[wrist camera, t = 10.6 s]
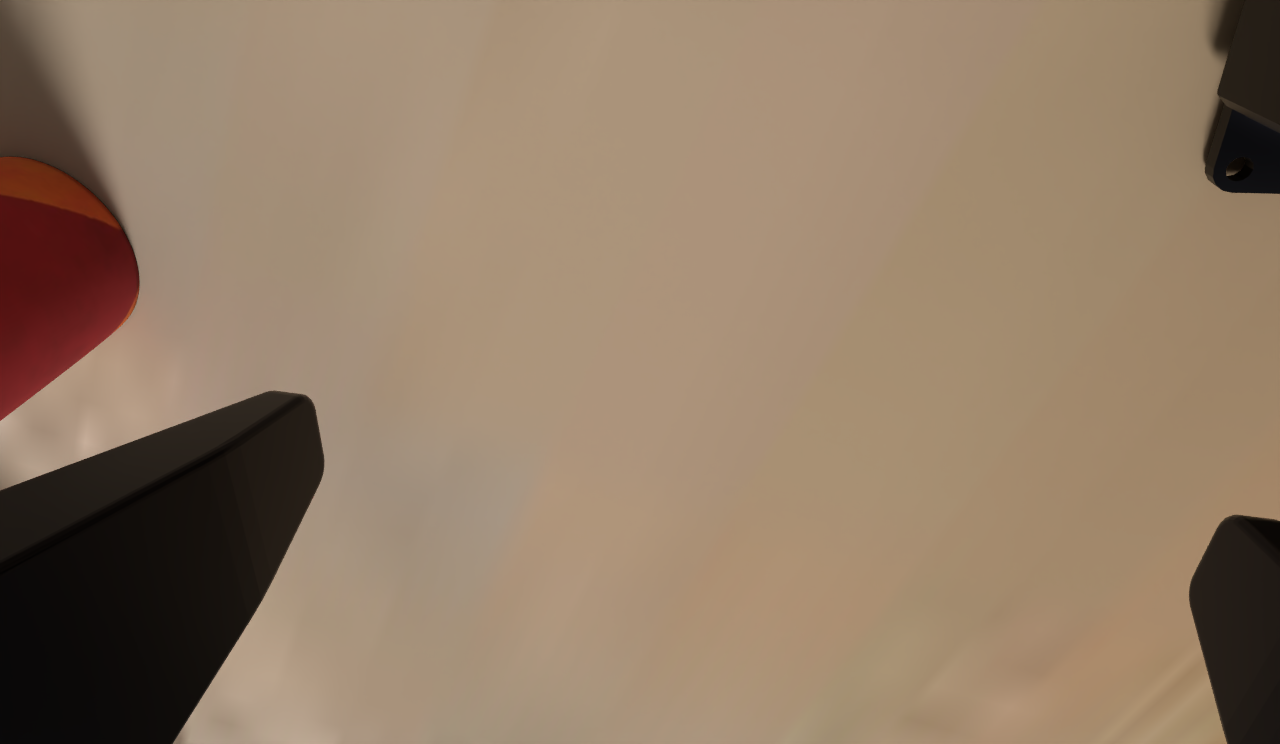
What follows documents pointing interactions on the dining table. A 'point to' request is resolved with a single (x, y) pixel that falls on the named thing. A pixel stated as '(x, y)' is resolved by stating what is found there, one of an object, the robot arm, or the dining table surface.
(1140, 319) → the dining table surface
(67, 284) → the paper cup
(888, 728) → the dining table surface
